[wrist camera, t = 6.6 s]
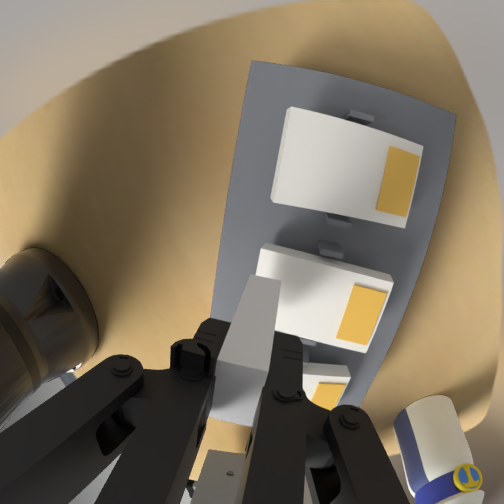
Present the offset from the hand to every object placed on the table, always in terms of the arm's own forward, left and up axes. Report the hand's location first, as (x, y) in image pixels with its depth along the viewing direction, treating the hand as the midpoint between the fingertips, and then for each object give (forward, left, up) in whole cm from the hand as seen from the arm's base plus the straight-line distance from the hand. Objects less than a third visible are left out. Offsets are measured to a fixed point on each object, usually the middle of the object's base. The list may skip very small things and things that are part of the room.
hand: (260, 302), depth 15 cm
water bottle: (+21, -16, -10) cm, 28 cm away
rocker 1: (+3, +7, -2) cm, 8 cm away
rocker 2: (+3, 0, -2) cm, 3 cm away
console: (+3, 0, -9) cm, 10 cm away
